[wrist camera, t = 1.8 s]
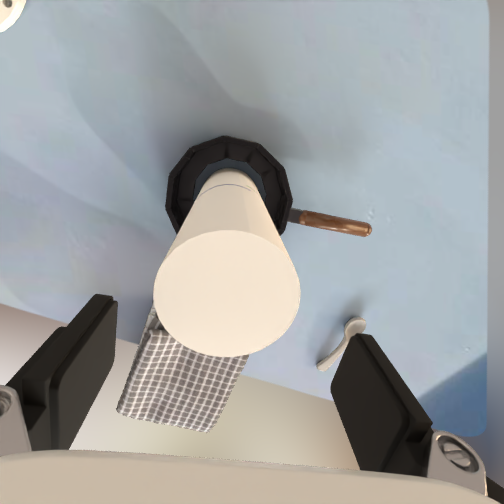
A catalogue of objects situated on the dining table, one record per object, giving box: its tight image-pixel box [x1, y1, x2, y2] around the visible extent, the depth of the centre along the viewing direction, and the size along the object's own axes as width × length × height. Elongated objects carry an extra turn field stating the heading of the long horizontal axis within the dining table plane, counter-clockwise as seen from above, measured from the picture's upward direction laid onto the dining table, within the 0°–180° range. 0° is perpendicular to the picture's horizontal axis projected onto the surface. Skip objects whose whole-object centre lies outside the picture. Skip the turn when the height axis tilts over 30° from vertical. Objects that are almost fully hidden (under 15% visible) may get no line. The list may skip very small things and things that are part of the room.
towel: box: [116, 300, 249, 432], centre depth 43 cm, size 15×18×8 cm
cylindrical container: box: [153, 168, 301, 357], centre depth 26 cm, size 7×7×25 cm
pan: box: [165, 135, 372, 237], centre depth 36 cm, size 14×25×4 cm, turn 78°
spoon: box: [316, 317, 366, 371], centre depth 47 cm, size 3×12×2 cm, turn 152°
